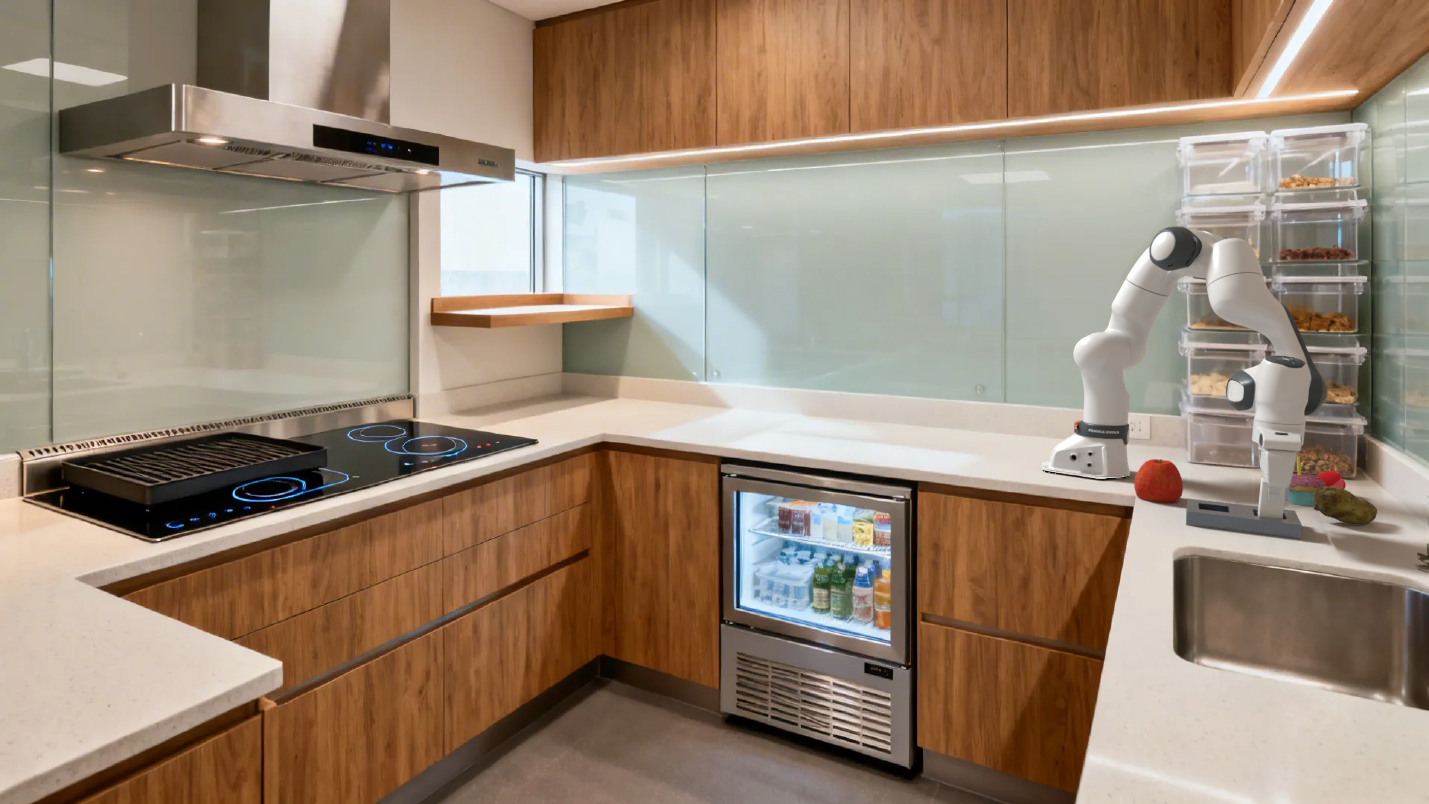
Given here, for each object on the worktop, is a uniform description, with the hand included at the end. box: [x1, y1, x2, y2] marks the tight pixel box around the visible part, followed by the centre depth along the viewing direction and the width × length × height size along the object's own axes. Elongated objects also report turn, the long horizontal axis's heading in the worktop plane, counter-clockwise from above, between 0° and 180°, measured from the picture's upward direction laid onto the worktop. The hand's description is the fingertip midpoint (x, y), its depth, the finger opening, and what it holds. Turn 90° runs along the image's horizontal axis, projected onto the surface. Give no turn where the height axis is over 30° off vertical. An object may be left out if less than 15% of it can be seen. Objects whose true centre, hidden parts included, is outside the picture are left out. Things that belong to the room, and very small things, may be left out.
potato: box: [1313, 486, 1378, 526], centre depth 176 cm, size 8×13×8 cm, turn 74°
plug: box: [1257, 477, 1290, 519], centre depth 169 cm, size 5×4×9 cm
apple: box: [1134, 458, 1184, 504], centre depth 193 cm, size 10×10×10 cm
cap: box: [1314, 470, 1346, 490], centre depth 199 cm, size 8×6×6 cm
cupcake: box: [1288, 452, 1326, 507], centre depth 191 cm, size 9×8×12 cm
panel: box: [1185, 498, 1303, 541], centre depth 173 cm, size 20×12×4 cm, turn 60°
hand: (1271, 499), depth 170 cm, fingers closed on plug, 4 cm apart
